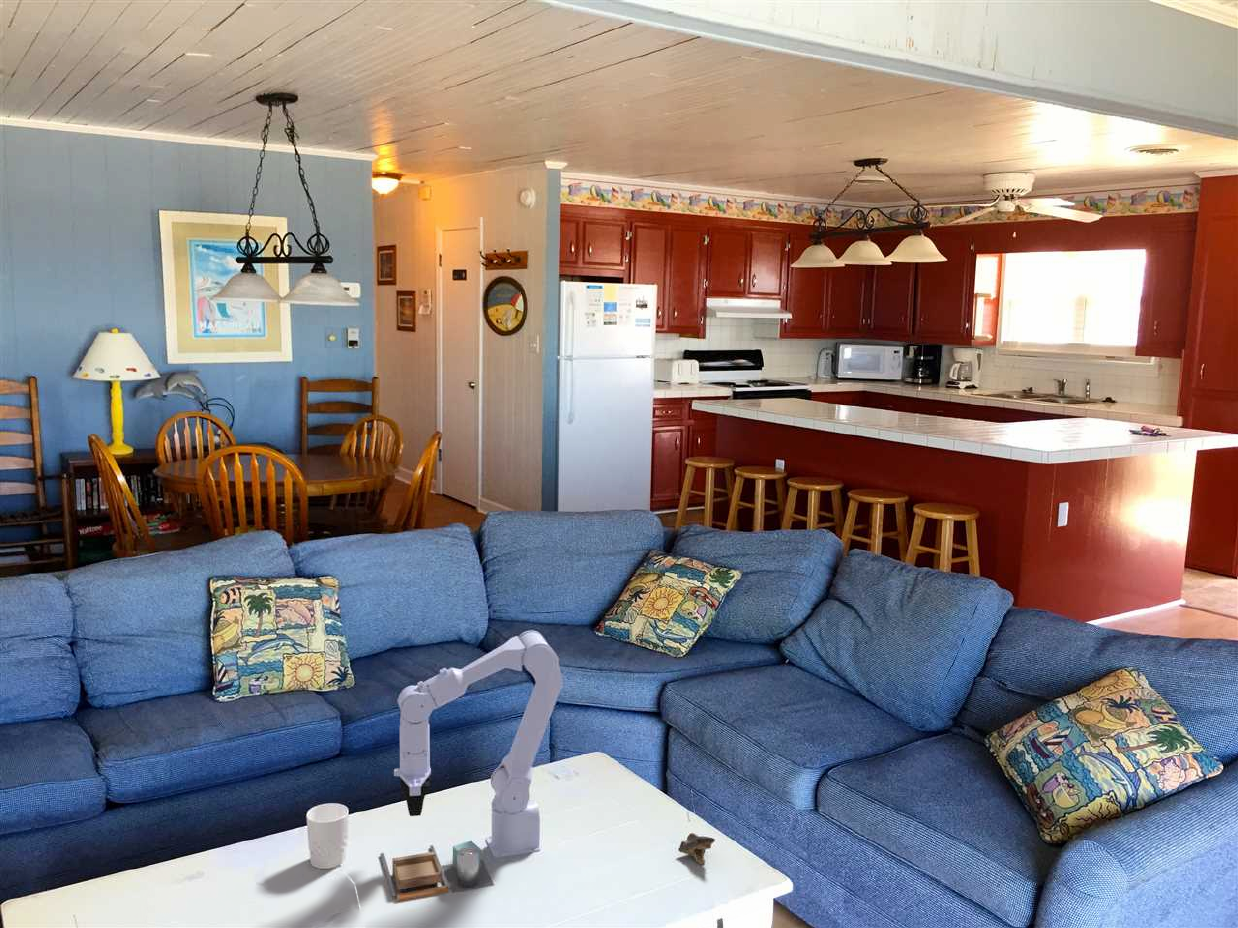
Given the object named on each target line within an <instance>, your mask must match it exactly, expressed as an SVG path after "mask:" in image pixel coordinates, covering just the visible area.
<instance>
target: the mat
mask: <svg viewBox="0 0 1238 928" xmlns="http://www.w3.org/2000/svg"><path fill="white" fill-rule="evenodd" d="M441 867H442V870H443V872H444V875H445V877H446V880H447V882H448V885H449V889H450V891H451V893H452V894H455V893H458V892H459V893H460V892H465V891H470V890H476V889H481V888H482V889H483V888H487V887H493V886H495V884H494V881H493V880H492V878H491V875H490V873H489V871H488V868H487V866H486V865H485V863H484V859H482V858H481V869H479V882H478V884H477V885H476V886H475V887H472V888H462V887H459V886H458V884H457V869H456V868H455V867H454V866H453V863H451V864H444V865H441Z"/></svg>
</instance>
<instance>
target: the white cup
mask: <svg viewBox="0 0 1238 928" xmlns="http://www.w3.org/2000/svg"><path fill="white" fill-rule="evenodd" d="M305 817H306V827H307V840H308V841H307V842H308V850H309V860H310V861H309V862H310V865H311V866H312V867H314V868H316V869H319V870H329V869H330V870H331V869H334V868H337V867H339V866H341V865H342V864H343V863H344V862H345V861H346V860H347V859H346V858H347V857H346V856H347V846H348V836H349V835H348V834H349V833H348V831H349V808H348V807H347V806H346V805H344V804H341V803H336V802H335V803H331V802H330V803H323V804H319V805H316V806H313V807H311V808H310V809H309V810H308V811H307V813H306V816H305Z"/></svg>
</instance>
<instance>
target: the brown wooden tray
mask: <svg viewBox="0 0 1238 928" xmlns="http://www.w3.org/2000/svg"><path fill="white" fill-rule="evenodd" d="M435 852H436V851H435ZM435 852H431V851H429V852H424V853H418V854H413V855H412V854H410V855H405V856H400V857H392V858H391V859H392V865H391V866H392V867H391V868H392V878H395V882H396V885H397V888H398V889H397V890H400V891H401V893H406V889H409V888H410V889H411V888H416V887H423V886H427V885H433V888H435V887H439V884H440V883H443V881H442V872H441V870H440V867H439V865H438V862H437V859H436V857H435Z"/></svg>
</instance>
